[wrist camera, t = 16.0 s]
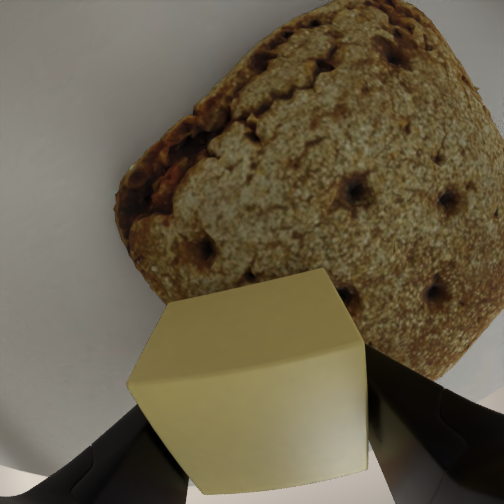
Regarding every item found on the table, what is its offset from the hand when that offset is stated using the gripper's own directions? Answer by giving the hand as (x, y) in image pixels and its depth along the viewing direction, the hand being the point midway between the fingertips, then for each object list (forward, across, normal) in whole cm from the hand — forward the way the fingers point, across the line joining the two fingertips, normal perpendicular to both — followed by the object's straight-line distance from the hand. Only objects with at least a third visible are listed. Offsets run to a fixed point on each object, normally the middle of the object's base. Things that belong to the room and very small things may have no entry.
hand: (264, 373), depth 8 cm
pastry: (+4, -5, -2) cm, 7 cm away
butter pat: (+1, 0, 0) cm, 1 cm away
